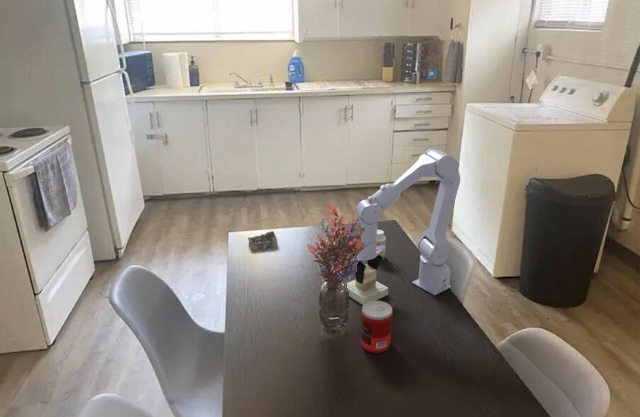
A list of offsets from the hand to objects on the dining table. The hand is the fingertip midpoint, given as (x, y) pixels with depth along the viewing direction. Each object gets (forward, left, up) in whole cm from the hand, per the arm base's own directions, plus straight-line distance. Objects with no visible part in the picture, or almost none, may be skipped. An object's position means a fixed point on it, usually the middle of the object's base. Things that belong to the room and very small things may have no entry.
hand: (365, 279), depth 146 cm
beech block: (0, 0, -2) cm, 2 cm away
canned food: (-20, +15, -5) cm, 25 cm away
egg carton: (+49, +7, -6) cm, 50 cm away
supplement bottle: (+15, -20, -5) cm, 26 cm away
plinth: (0, 0, -5) cm, 5 cm away
